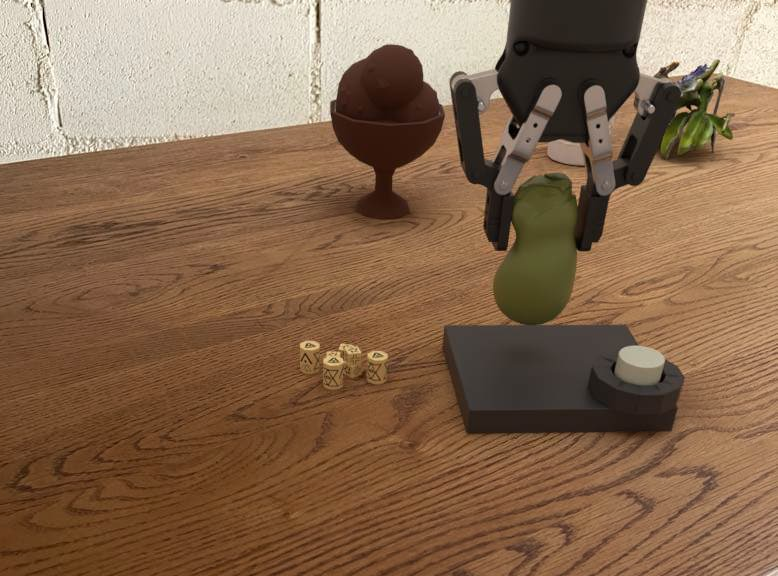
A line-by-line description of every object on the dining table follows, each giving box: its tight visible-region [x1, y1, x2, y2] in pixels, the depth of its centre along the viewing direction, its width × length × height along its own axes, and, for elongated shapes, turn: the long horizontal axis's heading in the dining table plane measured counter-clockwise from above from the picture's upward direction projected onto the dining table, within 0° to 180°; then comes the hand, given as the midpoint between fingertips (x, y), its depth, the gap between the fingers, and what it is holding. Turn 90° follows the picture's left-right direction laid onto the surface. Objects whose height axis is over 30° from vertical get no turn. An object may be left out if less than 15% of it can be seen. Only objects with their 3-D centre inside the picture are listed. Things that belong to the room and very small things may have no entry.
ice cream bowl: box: [329, 43, 446, 220], centre depth 88 cm, size 11×11×15 cm
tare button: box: [614, 345, 666, 386], centre depth 61 cm, size 3×3×2 cm
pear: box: [492, 172, 578, 325], centre depth 61 cm, size 6×5×10 cm
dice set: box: [299, 340, 389, 391], centre depth 66 cm, size 5×5×2 cm
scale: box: [442, 324, 686, 435], centre depth 65 cm, size 14×13×4 cm
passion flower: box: [652, 59, 736, 161], centre depth 109 cm, size 11×11×12 cm
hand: (540, 245), depth 61 cm, fingers closed on pear, 5 cm apart
